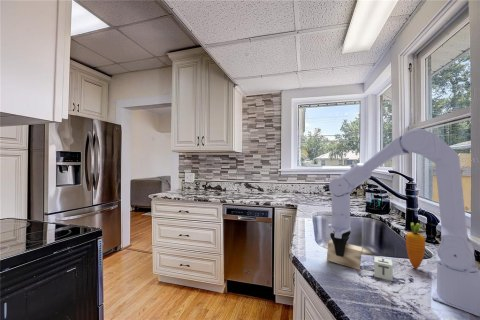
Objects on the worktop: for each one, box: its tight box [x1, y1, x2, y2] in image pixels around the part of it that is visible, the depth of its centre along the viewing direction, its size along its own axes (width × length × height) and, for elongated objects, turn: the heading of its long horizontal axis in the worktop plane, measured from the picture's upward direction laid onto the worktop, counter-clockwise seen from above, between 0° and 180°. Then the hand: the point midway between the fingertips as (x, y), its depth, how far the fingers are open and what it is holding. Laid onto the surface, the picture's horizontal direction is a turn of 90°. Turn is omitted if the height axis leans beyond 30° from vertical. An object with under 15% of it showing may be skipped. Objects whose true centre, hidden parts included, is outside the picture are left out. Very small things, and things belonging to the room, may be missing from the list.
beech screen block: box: [326, 238, 363, 271], centre depth 74 cm, size 10×4×6 cm, turn 59°
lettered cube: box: [373, 256, 394, 281], centre depth 67 cm, size 4×5×5 cm
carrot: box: [405, 222, 426, 270], centre depth 71 cm, size 5×5×15 cm
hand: (340, 253), depth 75 cm, fingers closed on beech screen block, 4 cm apart
